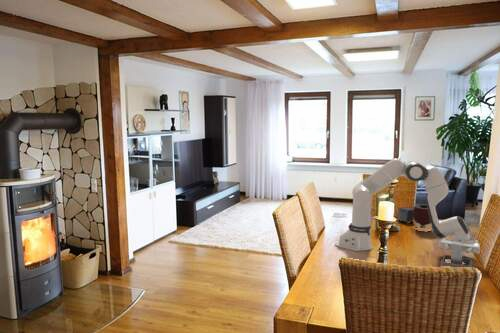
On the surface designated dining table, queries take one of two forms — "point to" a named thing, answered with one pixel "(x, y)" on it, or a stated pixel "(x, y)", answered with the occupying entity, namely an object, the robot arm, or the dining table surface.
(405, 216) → the small box
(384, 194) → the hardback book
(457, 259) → the metal block
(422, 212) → the mate gourd
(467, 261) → the tray
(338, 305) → the dining table surface
